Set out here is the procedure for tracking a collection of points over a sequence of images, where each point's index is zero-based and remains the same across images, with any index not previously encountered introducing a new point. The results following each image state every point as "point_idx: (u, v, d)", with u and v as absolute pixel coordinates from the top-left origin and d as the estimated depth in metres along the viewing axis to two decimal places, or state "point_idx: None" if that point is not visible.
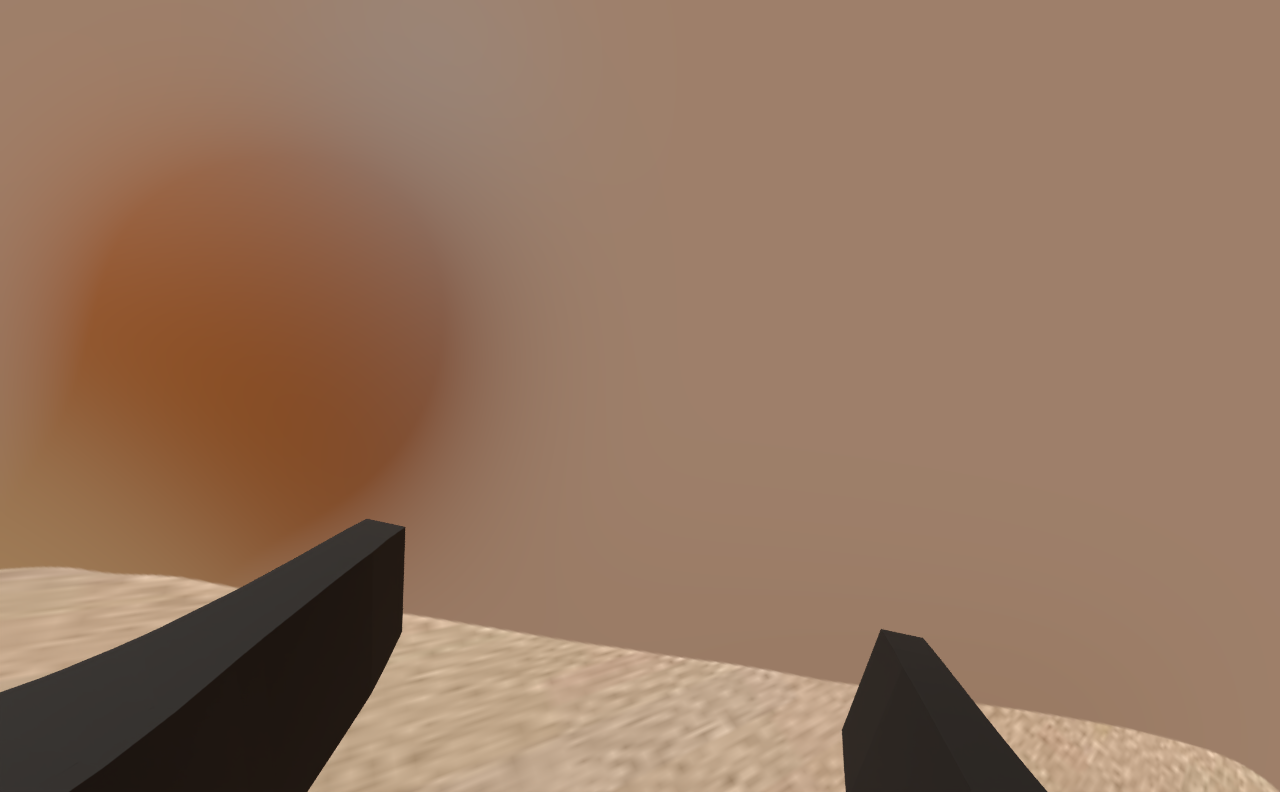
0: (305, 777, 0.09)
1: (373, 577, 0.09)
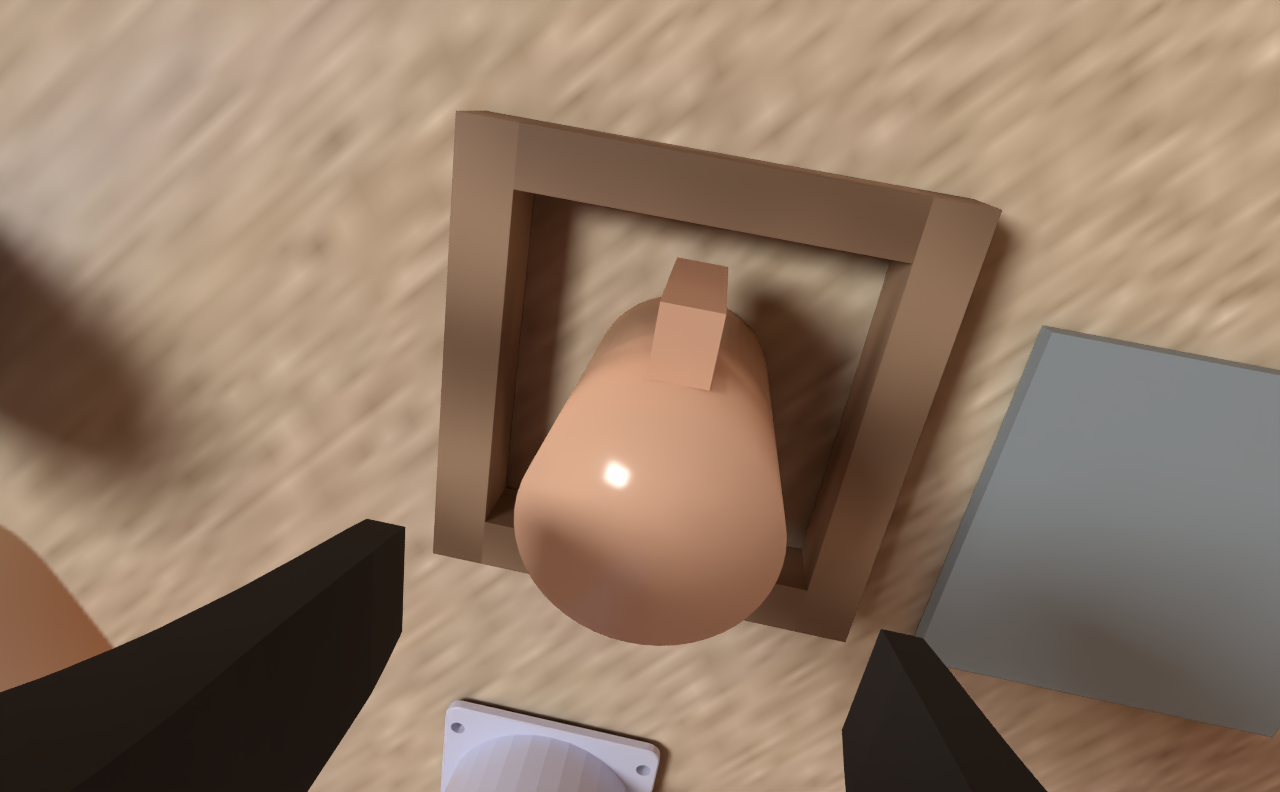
0: (305, 777, 0.09)
1: (373, 577, 0.09)
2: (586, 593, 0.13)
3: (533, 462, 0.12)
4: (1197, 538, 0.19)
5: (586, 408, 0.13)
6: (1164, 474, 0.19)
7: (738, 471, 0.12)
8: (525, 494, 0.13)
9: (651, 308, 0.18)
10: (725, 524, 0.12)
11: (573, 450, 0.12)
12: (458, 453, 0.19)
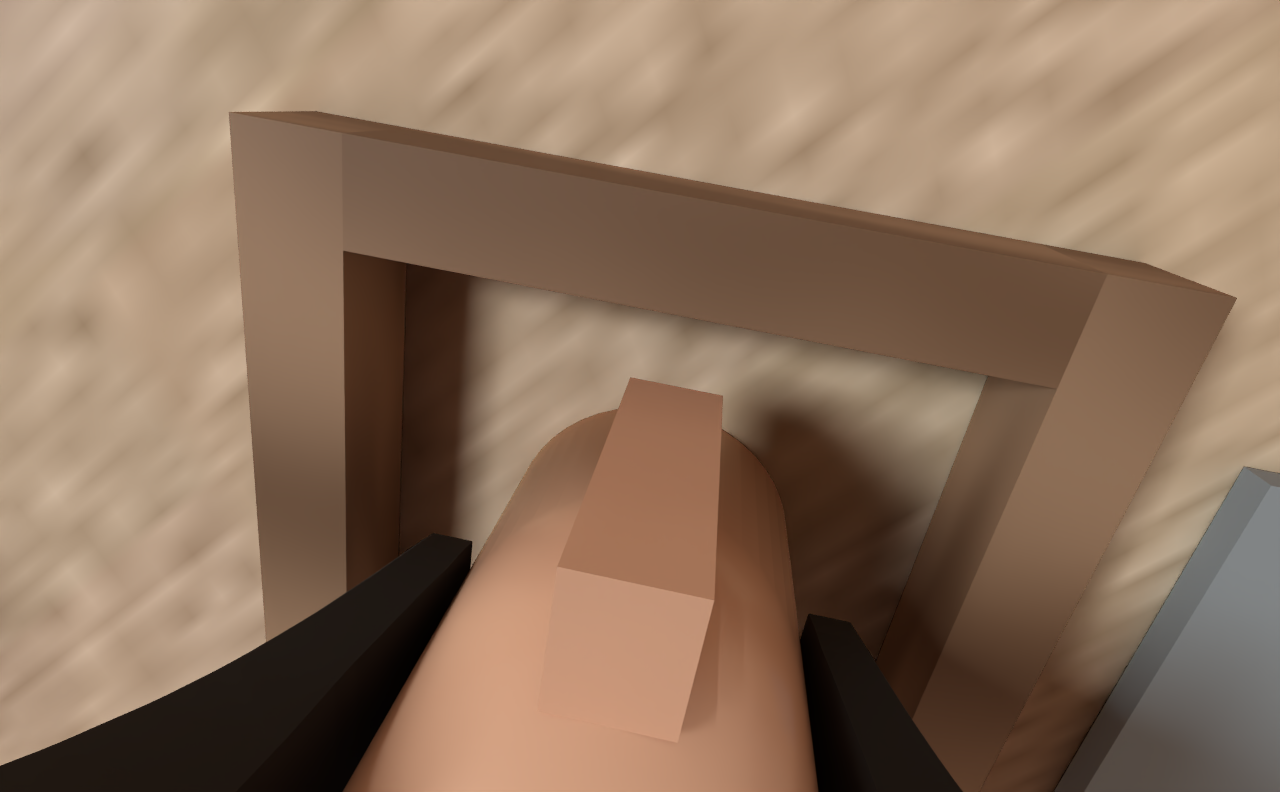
0: None
1: (445, 593, 0.09)
2: None
3: None
4: None
5: None
6: None
7: None
8: None
9: (597, 438, 0.11)
10: None
11: None
12: None
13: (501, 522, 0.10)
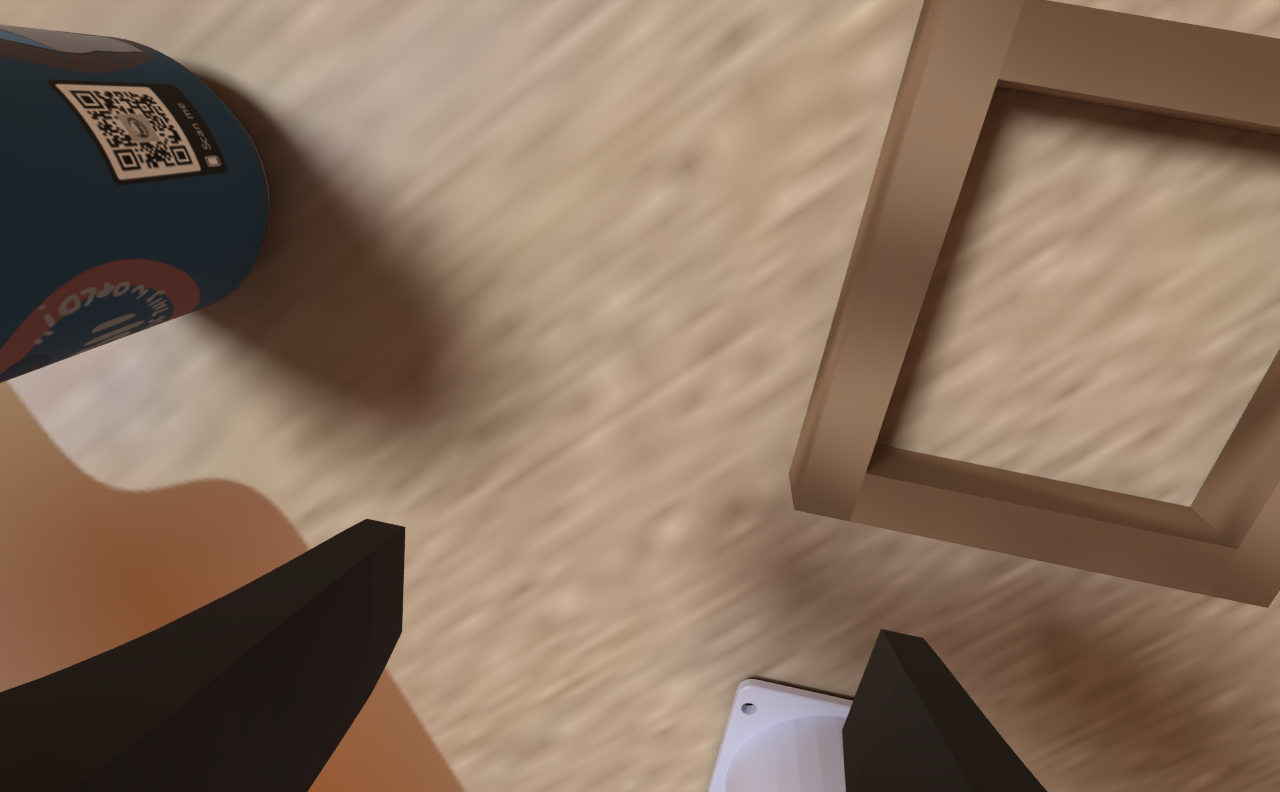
0: (305, 777, 0.09)
1: (373, 577, 0.09)
2: None
3: None
4: None
5: None
6: None
7: None
8: None
9: None
10: None
11: None
12: (852, 394, 0.17)
13: None
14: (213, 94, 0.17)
